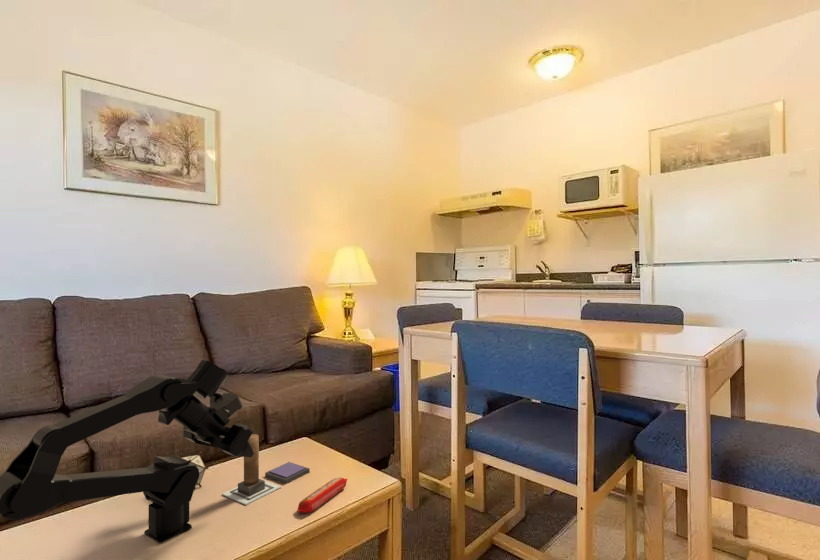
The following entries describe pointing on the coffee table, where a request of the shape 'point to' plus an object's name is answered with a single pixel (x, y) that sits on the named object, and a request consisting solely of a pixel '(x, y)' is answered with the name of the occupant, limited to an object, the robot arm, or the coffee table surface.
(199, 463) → the game die
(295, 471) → the ink pad
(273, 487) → the print card
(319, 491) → the candy bar
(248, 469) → the wooden handle on base
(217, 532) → the coffee table surface
